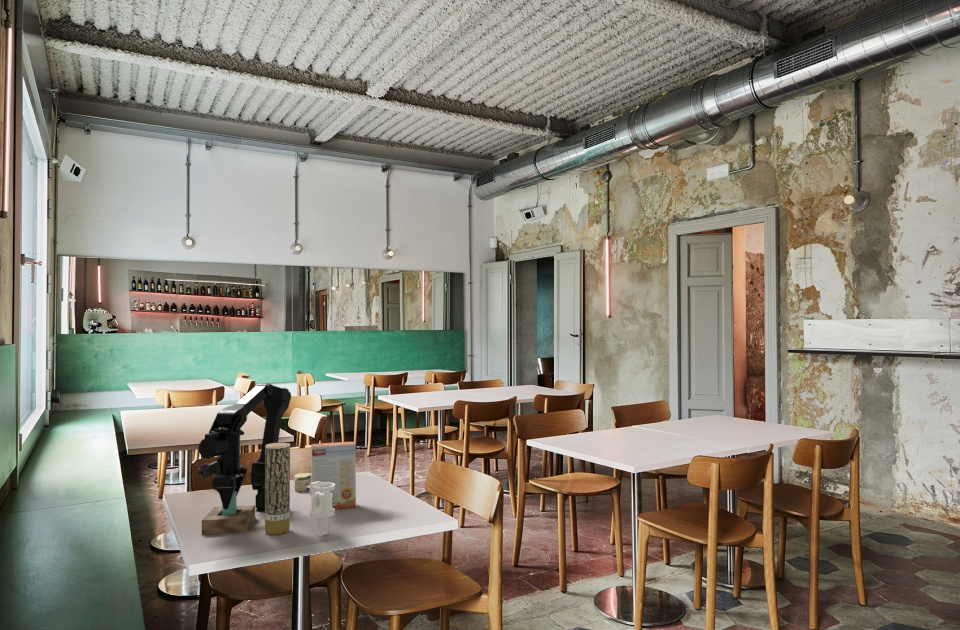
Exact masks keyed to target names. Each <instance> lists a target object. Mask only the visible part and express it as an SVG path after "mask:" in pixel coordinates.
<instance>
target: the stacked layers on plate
mask: <svg viewBox="0 0 960 630" xmlns="http://www.w3.org/2000/svg"><path fill="white" fill-rule="evenodd" d="M294 478H295V479H294V480H293V482H294V485H293V488H294V492H305V491H306V490H307V489H308V487H310V483H311V472H305V473H303V472H302V473H301V472H300V473H296V474H295V475H294Z"/></svg>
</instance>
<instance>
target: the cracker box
mask: <svg viewBox="0 0 960 630" xmlns="http://www.w3.org/2000/svg"><path fill="white" fill-rule="evenodd" d="M310 451H311V453H310V455H311V456H310V462H311V463H310V464H311V465H310V466H311V469H310V471H311V472H310V473H311V475H310V476H311V483H312V482H316V481H320V482H330V483H334V484H335V489H334V490H331V491H329V493H332V508H334V509H335V510H337V509H339V510H340V509H349V508H352V509H353V508H356V506H357V503H356V502H357V497H356V494H357V491H356V489H357V488H356V487H357V485H356V481H357V480H356V476H357V475H356V470H357V469H356V443H355V442H354V441H343V442H342V441H341V442H339V441H338V442H325V443H324V442H323V443H311V444H310ZM324 487H328V486H322V487H320V488H324ZM310 496H311V495H310ZM311 501H312V496H311Z"/></svg>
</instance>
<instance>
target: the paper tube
mask: <svg viewBox="0 0 960 630" xmlns="http://www.w3.org/2000/svg"><path fill="white" fill-rule="evenodd" d="M265 446H266V447H265V511H264V531H265V533H266V534H267V535H273V536H276V535H283V534H286V533H287V532H289V530H290V524H291V523H290V521H291V520H290V518H291V517H290V514H291V511H290V510H291V507H290V506H291V502H290V501H291V500H290V499H291V488H290V487H291V444H290V443H289V442H278V443H271V444H267V445H265Z"/></svg>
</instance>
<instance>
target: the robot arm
mask: <svg viewBox="0 0 960 630" xmlns="http://www.w3.org/2000/svg"><path fill="white" fill-rule="evenodd" d="M291 399H292V394H291V391H290V390H289V389H288V388H286V387H279V386H275V385H273V384H271V383H267V382H266V383H262V382H261V383H256V384H255V385H254V387H253V388H252V389H251V390H250V391H249V392H247V393H246V394H245V395H244V396H243V397H241V398H240V399H239V400H237V402H236V403H234V404H231V405H228V406H226V407H224V408H222V409H220V410H219V411H218V412H217V413H216V416H215V418H214V420H213V422H212V424H211V426H210V429H209V431H208V433H205V434H204V438H203V439H202V440H201V441H200V442H199V444H198V449H197V450H198V453H199V455H200V457H202V458H203V459H211V458H215V457H217V458H216V460H215V461H213V462H210V463H204V464H201V465H200V466H199V468H198V469H197V471H198V472H197V475H198V476H200V478H201V480H204V479H206V478H207V477H210V476H212V475H216V476H214V477H213V479H211V481H210V488H212V490H213V491H216V492H218V494H219V497H220V501H221V506H222V505H223V508H224V509H228V507H229V504H230V502H231V499H232V496H233V493H234V491H237V496H238V494H239V493H240V490H241V487H242V484H243V483H244V480H245V478H246V474H247V466H246V465H244V464H241V458H242V457H243V456H242V453H241V436H244V435H245V431H244V430H242V427H243V426H244V425H245V423H246V422H247V421H248V416H249V414H251V412H252V411H253V410H255V408H257V406H259V405H260V404H261V403H262V402H263V408H264V410H265V412H266V416H265V417H266V418H265V422H264V423H265V424H264V429H263V435H262V442H261V448H260V453H259V458H258V459H257V461H256V462H253V463H252V464H251V470H250V474H249V476H250V484H251V488H252V491H257V492H256V494H255V512H261V511H262V512H265V447H266V446H265V445H267V444H271V443H279V438H280V432H281V426H282V419H283V415H284V414H285V412H286V411H287V410H288V409H289V407H290V404H291V403H290V402H291ZM241 474H242V475H241Z"/></svg>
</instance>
